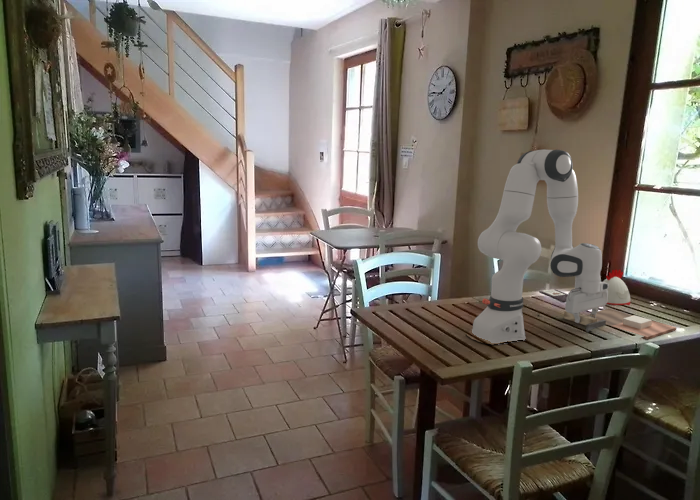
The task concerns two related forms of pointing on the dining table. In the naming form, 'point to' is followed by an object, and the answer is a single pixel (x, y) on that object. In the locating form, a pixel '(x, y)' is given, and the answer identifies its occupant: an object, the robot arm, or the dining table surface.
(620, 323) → the board
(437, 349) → the dining table surface
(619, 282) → the kitchen timer
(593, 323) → the squeegee
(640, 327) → the tile
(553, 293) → the chocolate bar
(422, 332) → the dining table surface
